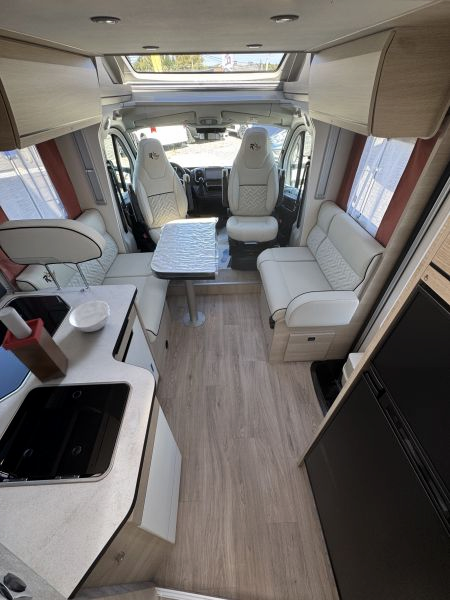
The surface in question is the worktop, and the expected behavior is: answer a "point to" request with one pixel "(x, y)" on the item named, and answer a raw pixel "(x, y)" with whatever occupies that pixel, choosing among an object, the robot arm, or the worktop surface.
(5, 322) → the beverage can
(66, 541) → the worktop surface
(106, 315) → the bowl
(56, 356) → the pedestal
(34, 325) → the red tray
